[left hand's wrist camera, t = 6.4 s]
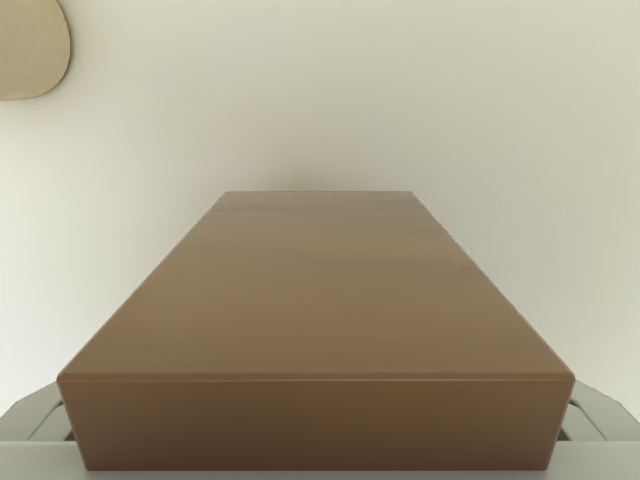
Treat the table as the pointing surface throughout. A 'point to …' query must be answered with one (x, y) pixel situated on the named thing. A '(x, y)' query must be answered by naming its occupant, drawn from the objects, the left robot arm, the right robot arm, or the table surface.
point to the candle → (31, 47)
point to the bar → (316, 350)
